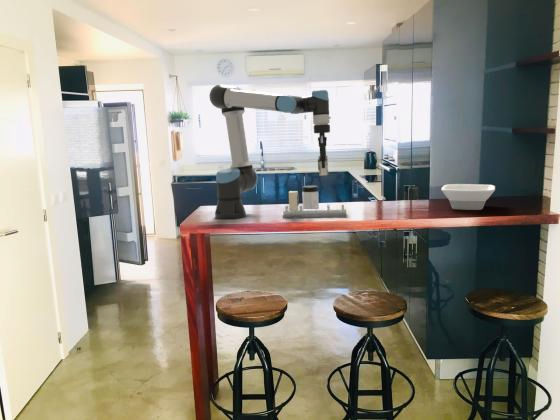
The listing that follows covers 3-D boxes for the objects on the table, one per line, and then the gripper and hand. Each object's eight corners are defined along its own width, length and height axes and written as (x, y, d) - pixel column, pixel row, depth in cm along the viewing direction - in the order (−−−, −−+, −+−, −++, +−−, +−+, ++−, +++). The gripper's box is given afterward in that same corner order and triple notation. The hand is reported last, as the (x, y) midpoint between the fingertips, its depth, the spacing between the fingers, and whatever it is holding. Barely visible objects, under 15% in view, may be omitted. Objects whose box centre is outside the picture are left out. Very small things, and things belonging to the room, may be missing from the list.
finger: (318, 175, 215) (317, 156, 214) (318, 175, 219) (318, 156, 218) (328, 175, 215) (327, 155, 213) (328, 174, 219) (327, 155, 217)
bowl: (494, 204, 234) (495, 184, 233) (494, 212, 212) (495, 190, 210) (444, 203, 245) (444, 183, 243) (439, 210, 222) (439, 189, 220)
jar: (308, 211, 236) (307, 187, 234) (299, 209, 243) (298, 186, 241) (322, 208, 241) (321, 186, 239) (312, 207, 247) (312, 185, 245)
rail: (282, 218, 219) (281, 193, 217) (284, 214, 227) (283, 190, 225) (346, 217, 215) (346, 191, 213) (346, 213, 224) (345, 189, 222)
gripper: (329, 123, 205) (331, 175, 208) (330, 124, 221) (332, 172, 225) (312, 124, 206) (315, 176, 209) (314, 125, 222) (317, 173, 226)
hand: (324, 174), depth 217 cm, fingers closed on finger, 4 cm apart
